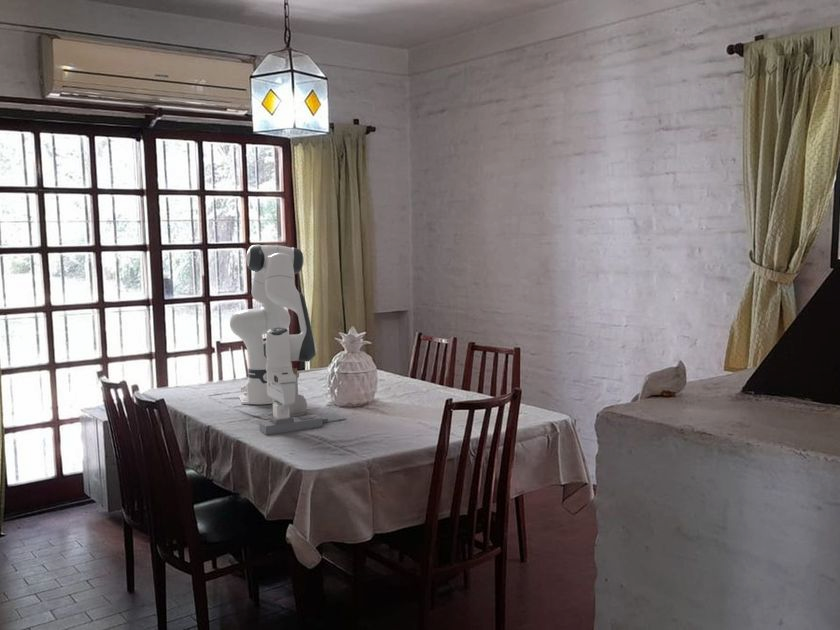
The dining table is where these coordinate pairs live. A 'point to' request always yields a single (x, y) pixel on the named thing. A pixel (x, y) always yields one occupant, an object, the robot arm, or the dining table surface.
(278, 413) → the block
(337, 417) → the mat
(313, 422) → the power strip
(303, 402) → the potion bottle
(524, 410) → the dining table surface
